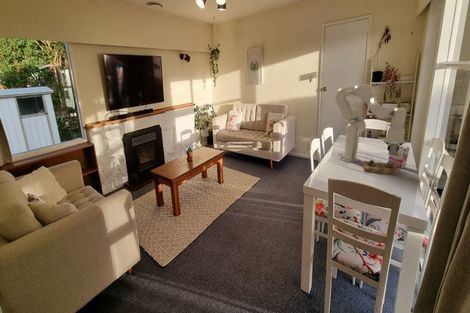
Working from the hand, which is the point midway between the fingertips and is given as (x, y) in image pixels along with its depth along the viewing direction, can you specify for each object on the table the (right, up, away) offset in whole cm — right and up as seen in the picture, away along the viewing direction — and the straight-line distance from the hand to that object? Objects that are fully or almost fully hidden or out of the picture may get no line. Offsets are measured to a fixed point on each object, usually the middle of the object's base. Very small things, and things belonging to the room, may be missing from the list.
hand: (392, 150), depth 175 cm
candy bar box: (+11, -11, +13) cm, 21 cm away
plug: (0, -3, +1) cm, 3 cm away
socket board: (-5, -14, +8) cm, 17 cm away
